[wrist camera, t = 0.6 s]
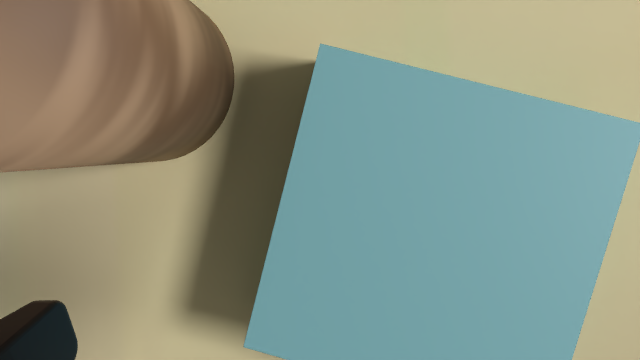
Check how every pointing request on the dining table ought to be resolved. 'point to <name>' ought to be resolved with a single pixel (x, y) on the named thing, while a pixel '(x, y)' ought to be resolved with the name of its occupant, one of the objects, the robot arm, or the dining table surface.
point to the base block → (437, 219)
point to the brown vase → (108, 82)
